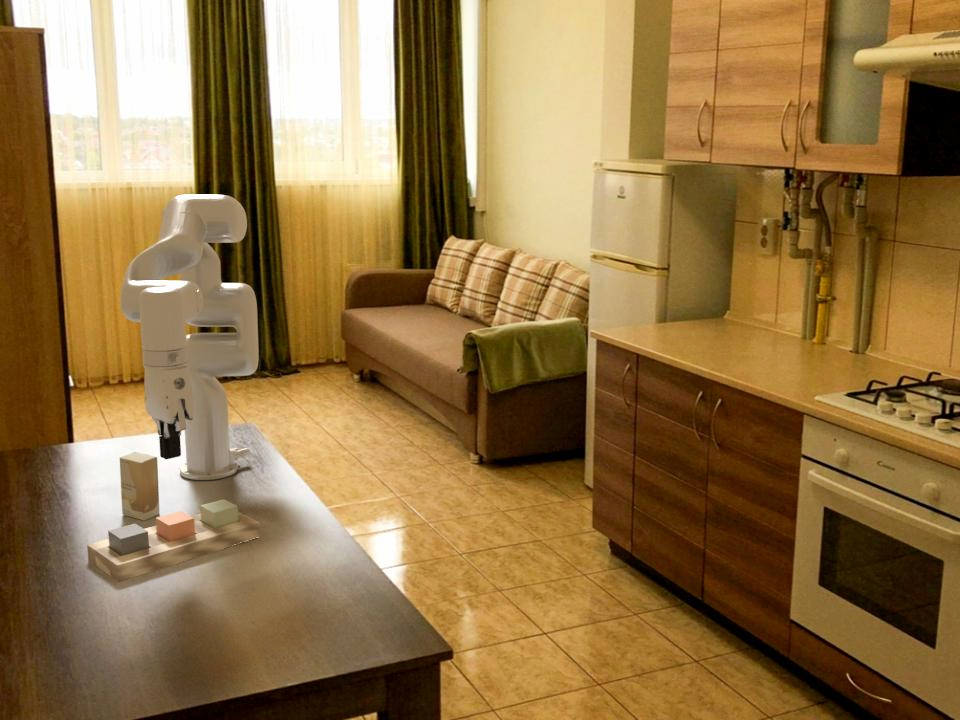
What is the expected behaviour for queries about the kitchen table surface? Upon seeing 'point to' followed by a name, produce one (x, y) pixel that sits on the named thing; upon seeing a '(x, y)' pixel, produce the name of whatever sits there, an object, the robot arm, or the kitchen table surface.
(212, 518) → the sage key
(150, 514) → the skincare box
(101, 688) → the kitchen table surface
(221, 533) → the board
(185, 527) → the terracotta key
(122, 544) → the charcoal key
